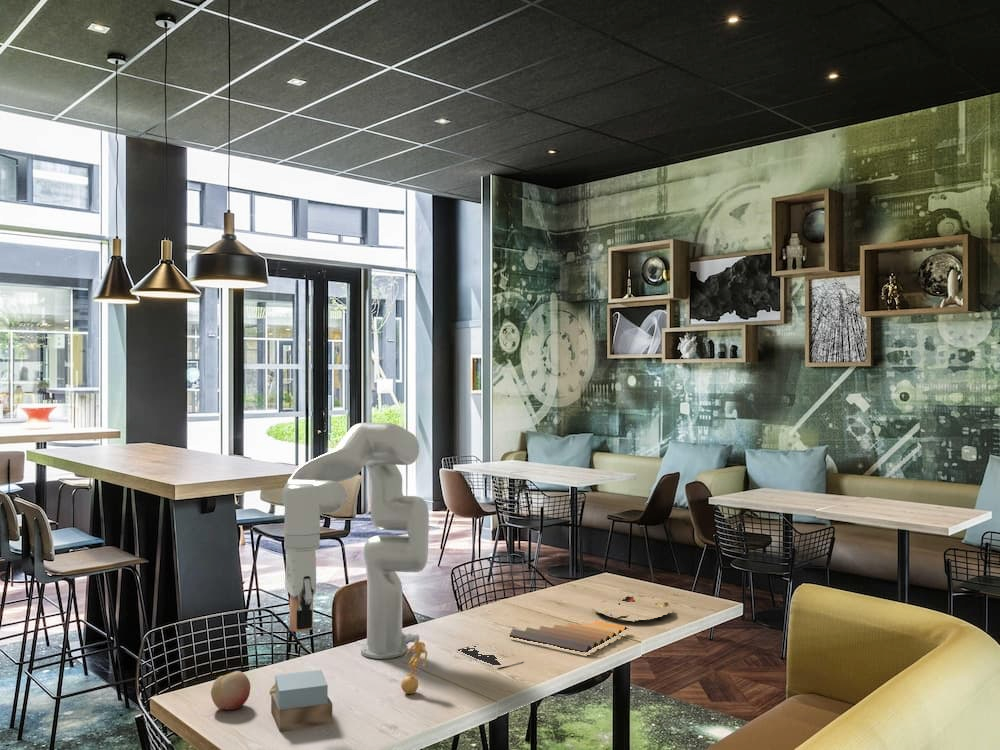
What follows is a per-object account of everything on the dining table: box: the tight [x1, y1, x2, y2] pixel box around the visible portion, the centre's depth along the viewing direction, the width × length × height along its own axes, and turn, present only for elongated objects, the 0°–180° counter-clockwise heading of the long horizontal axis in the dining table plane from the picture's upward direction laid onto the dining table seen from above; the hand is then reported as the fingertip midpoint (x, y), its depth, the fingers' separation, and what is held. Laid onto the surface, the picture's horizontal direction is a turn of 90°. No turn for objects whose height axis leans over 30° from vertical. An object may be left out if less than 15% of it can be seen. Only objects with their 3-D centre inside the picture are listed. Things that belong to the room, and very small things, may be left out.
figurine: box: [400, 640, 428, 695], centre depth 187 cm, size 8×6×12 cm
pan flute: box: [509, 620, 629, 652], centre depth 230 cm, size 25×3×25 cm
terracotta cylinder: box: [289, 593, 314, 633], centre depth 173 cm, size 5×5×7 cm
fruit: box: [210, 670, 251, 711], centre depth 178 cm, size 8×8×8 cm
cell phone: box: [457, 645, 501, 665], centre depth 213 cm, size 9×18×1 cm, turn 39°
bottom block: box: [270, 693, 333, 733], centre depth 173 cm, size 11×11×4 cm
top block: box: [274, 669, 329, 710], centre depth 173 cm, size 10×10×4 cm
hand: (301, 624), depth 173 cm, fingers closed on terracotta cylinder, 5 cm apart
